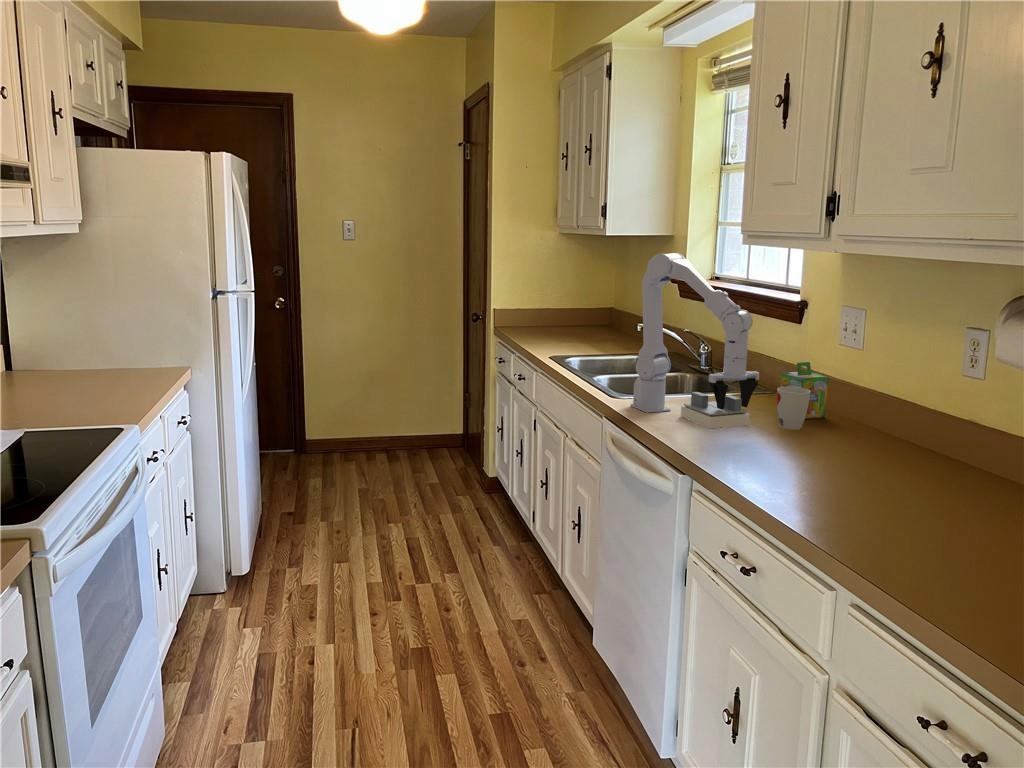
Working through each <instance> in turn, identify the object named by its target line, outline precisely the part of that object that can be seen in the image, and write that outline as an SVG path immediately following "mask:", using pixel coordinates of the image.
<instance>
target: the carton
mask: <svg viewBox="0 0 1024 768" xmlns="http://www.w3.org/2000/svg"><path fill="white" fill-rule="evenodd" d="M683 417H684V418H683ZM680 418H683V419H685V418H686V420H688V419H689V421H690V420H691V421H690V422H692V421H693V422H692V423H695V424H697V423H698V425H700V426H702V425H703V426H702V427H705V426H706V427H705V428H707V427H708V428H707V429H709V428H715V429H721V428H720V427H725V428H732V427H733V426H735V427H742V426H743V427H745V426H750V419H751V418H750V413H748V412H744V413H733V414H729V413H728V414H721V415H707V414H705V413H702V412H700V411H697V410H695V409H692V408H689V407H687V406H684V405H681V407H680ZM744 425H745V426H744ZM733 428H734V427H733Z"/></svg>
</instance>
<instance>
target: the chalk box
mask: <svg viewBox="0 0 1024 768" xmlns="http://www.w3.org/2000/svg"><path fill="white" fill-rule="evenodd" d="M802 367H806V371H803V370H802ZM796 368H797V371H790V372H782V373H781V377H780V379H781V380H780V387H798V388H804V389H808V390H810V397H809V404H808V409H807V413H806V416H805V420H807V419H808V420H809V419H821V418H823V417H825V418H826V410H827V409H826V408H827V403H828V402H827V399H828V388H829V380H830V378H829V377H828V376H826V375H822V374H818V373H813V372H812V367H811V362H810V361H804V362H803V361H801V362H797V363H796ZM823 419H824V418H823Z"/></svg>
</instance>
